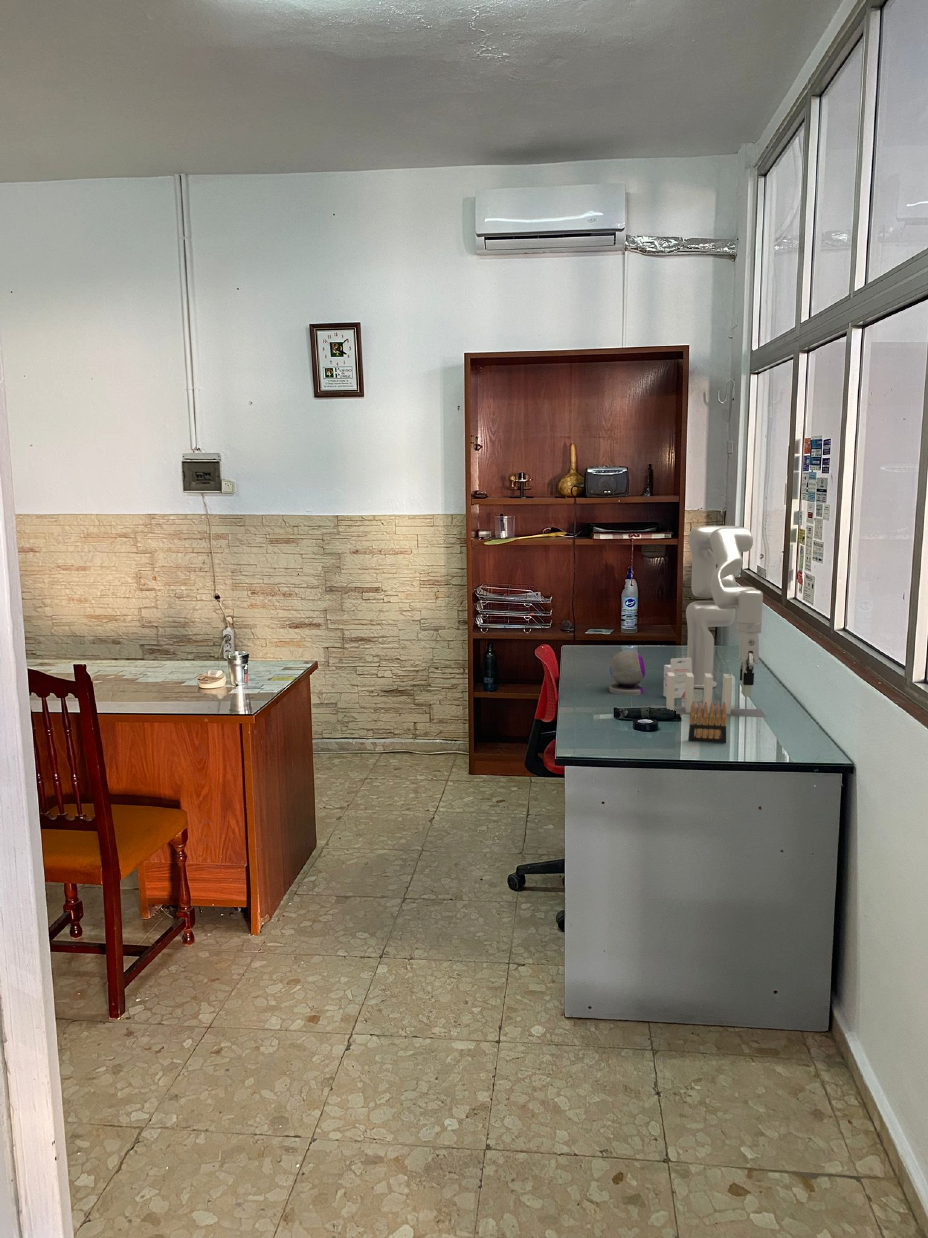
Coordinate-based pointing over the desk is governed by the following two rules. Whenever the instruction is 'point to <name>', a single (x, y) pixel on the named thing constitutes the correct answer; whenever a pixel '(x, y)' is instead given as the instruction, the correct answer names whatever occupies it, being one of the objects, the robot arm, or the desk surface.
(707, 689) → the cream domino
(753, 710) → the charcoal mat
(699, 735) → the ammunition clip
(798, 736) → the desk surface
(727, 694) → the cream domino
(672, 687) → the cream domino
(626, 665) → the webcam
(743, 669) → the sage domino
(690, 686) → the cream domino
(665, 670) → the ink cartridge box
